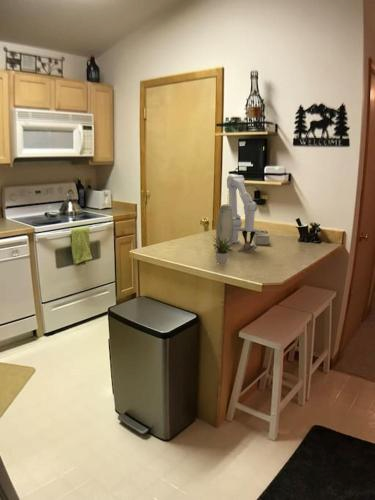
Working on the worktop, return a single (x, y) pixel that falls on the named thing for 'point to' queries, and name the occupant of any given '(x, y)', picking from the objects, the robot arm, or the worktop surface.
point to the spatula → (248, 245)
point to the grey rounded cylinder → (225, 225)
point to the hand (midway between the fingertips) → (248, 243)
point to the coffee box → (261, 238)
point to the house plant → (221, 250)
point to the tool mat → (248, 249)
